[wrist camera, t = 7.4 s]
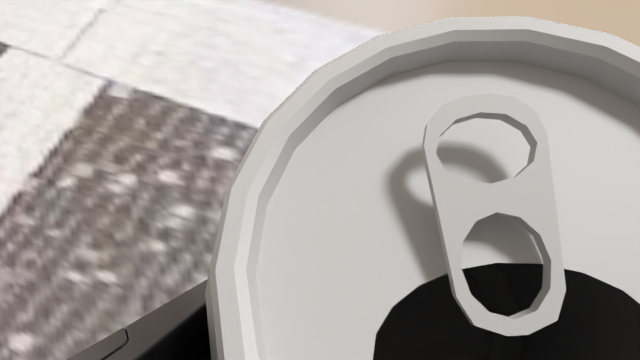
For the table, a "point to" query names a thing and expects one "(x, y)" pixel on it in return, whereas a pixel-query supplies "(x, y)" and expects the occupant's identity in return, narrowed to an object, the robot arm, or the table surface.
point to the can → (441, 203)
